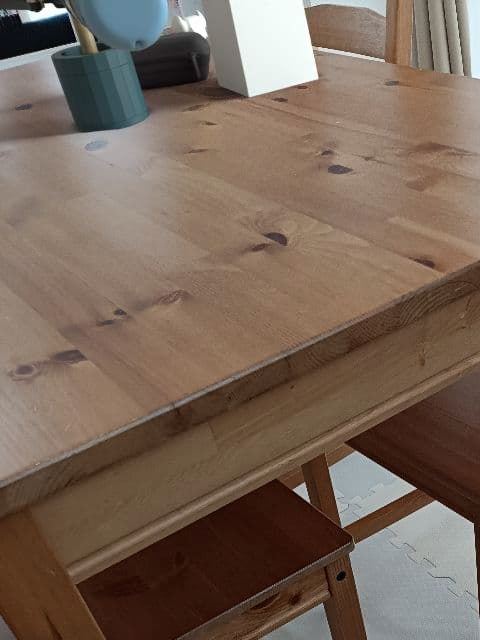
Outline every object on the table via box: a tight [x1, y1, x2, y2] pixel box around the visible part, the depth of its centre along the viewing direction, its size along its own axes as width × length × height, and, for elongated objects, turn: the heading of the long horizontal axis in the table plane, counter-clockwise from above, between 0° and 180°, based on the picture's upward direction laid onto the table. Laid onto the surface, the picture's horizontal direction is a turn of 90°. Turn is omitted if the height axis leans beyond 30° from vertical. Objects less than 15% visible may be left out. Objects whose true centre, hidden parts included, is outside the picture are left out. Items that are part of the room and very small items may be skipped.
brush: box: [69, 13, 98, 55], centre depth 105 cm, size 4×4×20 cm
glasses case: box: [130, 32, 212, 90], centre depth 125 cm, size 18×10×8 cm, turn 95°
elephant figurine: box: [170, 9, 209, 40], centre depth 144 cm, size 7×8×6 cm
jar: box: [50, 41, 149, 133], centre depth 109 cm, size 10×10×9 cm
